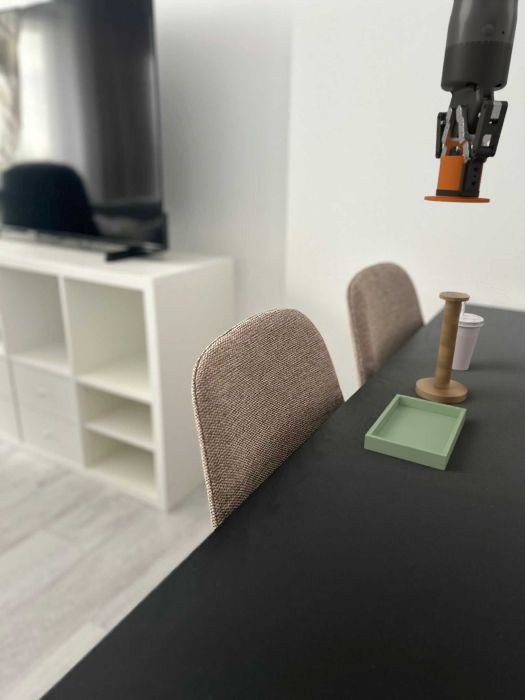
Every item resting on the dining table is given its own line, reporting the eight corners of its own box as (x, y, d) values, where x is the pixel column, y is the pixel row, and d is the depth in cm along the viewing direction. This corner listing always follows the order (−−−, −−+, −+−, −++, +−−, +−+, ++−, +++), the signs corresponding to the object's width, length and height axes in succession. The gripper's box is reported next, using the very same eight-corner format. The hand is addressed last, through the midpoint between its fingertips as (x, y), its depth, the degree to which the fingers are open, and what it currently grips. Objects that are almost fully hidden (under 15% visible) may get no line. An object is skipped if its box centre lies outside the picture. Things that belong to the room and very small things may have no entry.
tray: (395, 405, 80) (397, 393, 79) (464, 421, 75) (466, 408, 74) (363, 448, 67) (365, 435, 66) (444, 470, 62) (446, 456, 62)
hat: (471, 199, 71) (477, 158, 69) (501, 203, 63) (509, 156, 61) (415, 198, 70) (420, 156, 68) (439, 202, 62) (445, 154, 61)
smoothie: (443, 358, 100) (454, 288, 95) (478, 365, 97) (490, 292, 92) (436, 368, 95) (446, 294, 90) (472, 375, 92) (485, 299, 87)
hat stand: (452, 383, 88) (467, 288, 83) (475, 403, 81) (492, 300, 75) (408, 384, 88) (419, 289, 82) (426, 404, 80) (440, 301, 75)
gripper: (545, 31, 54) (515, 198, 60) (479, 58, 68) (460, 192, 73) (477, 27, 54) (453, 196, 59) (424, 56, 67) (409, 191, 73)
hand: (457, 193), depth 66 cm, fingers closed on hat, 5 cm apart
